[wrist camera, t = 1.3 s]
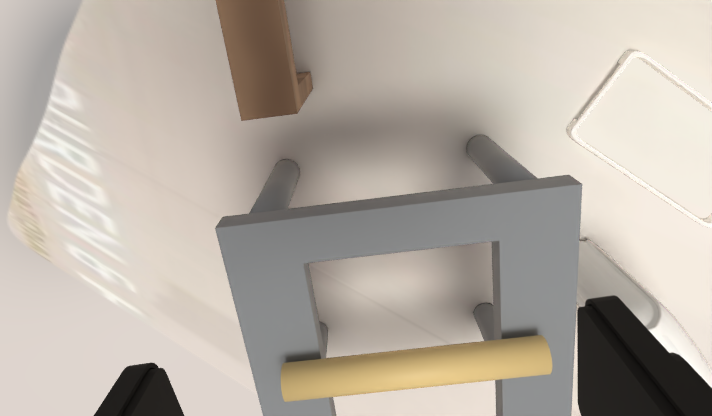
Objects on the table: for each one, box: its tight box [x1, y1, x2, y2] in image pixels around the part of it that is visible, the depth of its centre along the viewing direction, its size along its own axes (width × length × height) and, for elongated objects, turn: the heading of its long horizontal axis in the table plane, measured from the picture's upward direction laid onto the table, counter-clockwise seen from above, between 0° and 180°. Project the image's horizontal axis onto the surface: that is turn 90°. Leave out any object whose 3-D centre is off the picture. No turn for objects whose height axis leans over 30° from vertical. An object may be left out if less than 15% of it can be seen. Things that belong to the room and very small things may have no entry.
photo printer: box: [577, 240, 712, 388], centre depth 35 cm, size 10×4×12 cm, turn 39°
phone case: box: [567, 51, 712, 227], centre depth 36 cm, size 7×1×15 cm
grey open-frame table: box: [215, 135, 582, 416], centre depth 32 cm, size 18×18×16 cm
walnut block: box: [216, 0, 313, 121], centre depth 28 cm, size 3×9×10 cm, turn 7°
